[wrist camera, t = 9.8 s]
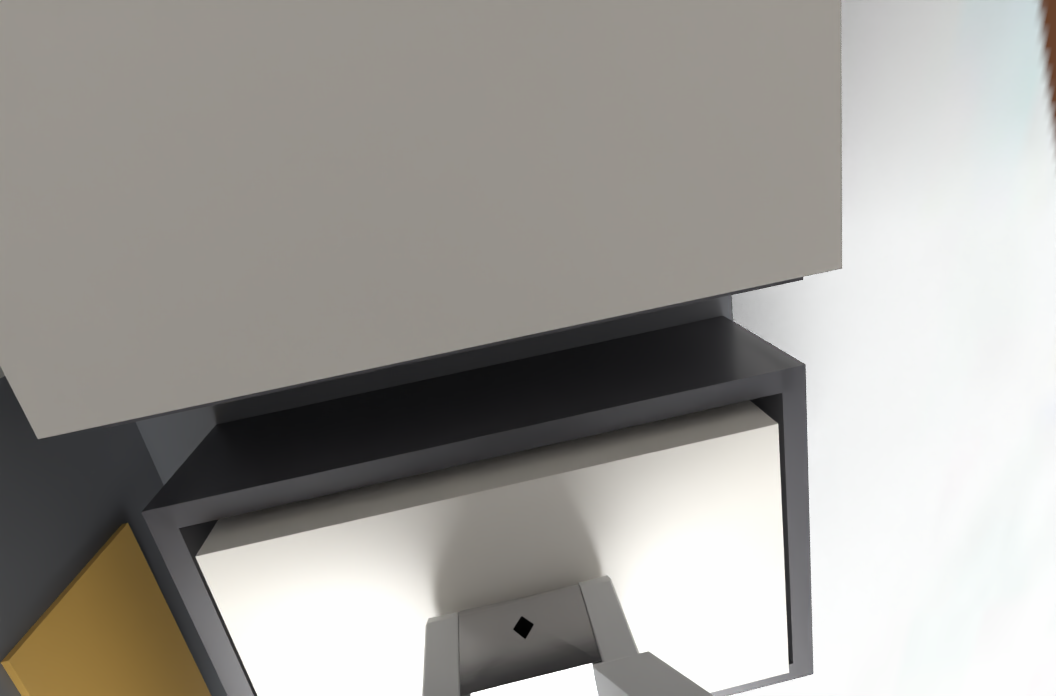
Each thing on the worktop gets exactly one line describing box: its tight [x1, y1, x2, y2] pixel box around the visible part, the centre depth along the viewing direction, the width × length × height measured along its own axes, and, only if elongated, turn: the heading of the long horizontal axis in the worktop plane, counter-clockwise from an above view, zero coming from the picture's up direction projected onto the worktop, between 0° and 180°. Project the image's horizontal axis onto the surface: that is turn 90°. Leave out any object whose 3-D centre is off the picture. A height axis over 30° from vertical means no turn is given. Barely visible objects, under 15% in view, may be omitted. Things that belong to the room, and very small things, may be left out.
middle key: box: [0, 0, 842, 439], centre depth 7 cm, size 5×9×2 cm, turn 100°
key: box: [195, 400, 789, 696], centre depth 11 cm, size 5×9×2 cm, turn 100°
